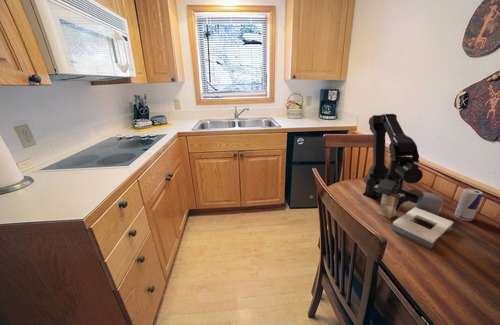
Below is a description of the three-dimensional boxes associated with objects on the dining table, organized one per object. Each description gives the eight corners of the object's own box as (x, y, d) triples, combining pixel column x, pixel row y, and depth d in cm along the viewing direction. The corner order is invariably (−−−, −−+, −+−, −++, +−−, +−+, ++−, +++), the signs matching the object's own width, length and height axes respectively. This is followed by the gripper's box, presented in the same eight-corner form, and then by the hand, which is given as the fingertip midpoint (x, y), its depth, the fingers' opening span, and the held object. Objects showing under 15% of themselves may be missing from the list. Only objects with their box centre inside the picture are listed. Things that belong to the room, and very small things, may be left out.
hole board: (391, 229, 78) (393, 221, 77) (413, 214, 87) (415, 207, 86) (430, 249, 68) (433, 240, 67) (450, 229, 77) (453, 221, 76)
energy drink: (476, 222, 81) (487, 194, 77) (460, 220, 82) (470, 193, 78) (465, 214, 86) (476, 188, 82) (450, 213, 87) (460, 187, 83)
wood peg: (378, 213, 88) (383, 192, 84) (383, 210, 90) (388, 189, 87) (389, 218, 84) (395, 197, 81) (395, 215, 86) (400, 193, 83)
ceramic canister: (410, 209, 90) (414, 195, 87) (418, 204, 94) (422, 190, 92) (434, 219, 83) (439, 204, 81) (442, 212, 87) (447, 198, 85)
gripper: (361, 169, 84) (355, 202, 89) (415, 186, 69) (404, 225, 74) (376, 163, 89) (370, 195, 95) (429, 178, 75) (418, 215, 80)
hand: (388, 207), depth 86 cm, fingers open, 6 cm apart
